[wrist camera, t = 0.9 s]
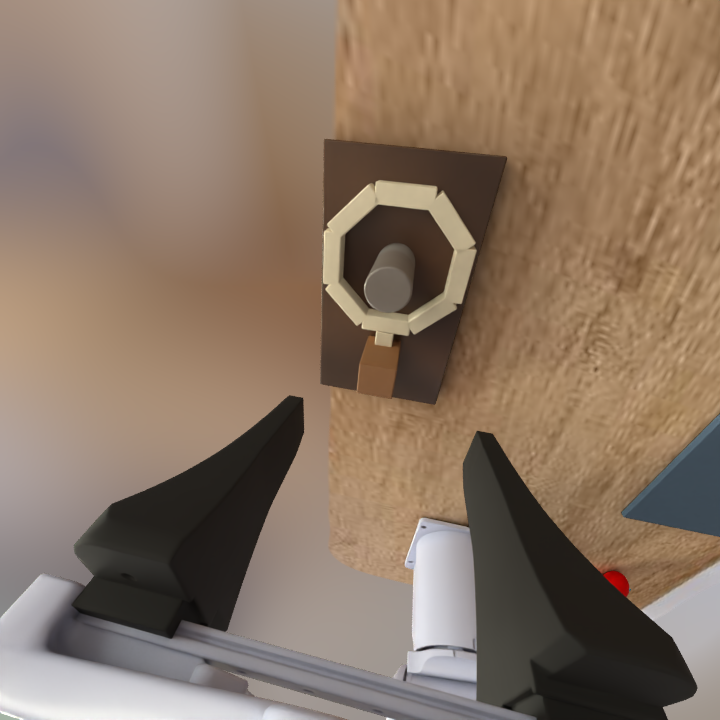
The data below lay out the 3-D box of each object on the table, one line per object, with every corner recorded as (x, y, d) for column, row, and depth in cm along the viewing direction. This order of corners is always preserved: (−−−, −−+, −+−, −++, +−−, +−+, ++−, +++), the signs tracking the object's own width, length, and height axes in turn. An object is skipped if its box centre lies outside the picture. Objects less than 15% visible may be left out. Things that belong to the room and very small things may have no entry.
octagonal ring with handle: (330, 174, 15) (309, 177, 12) (489, 191, 14) (504, 199, 11) (325, 374, 21) (310, 405, 18) (433, 393, 20) (433, 428, 18)
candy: (611, 583, 30) (621, 607, 28) (588, 578, 30) (597, 602, 28) (628, 569, 28) (640, 593, 26) (604, 564, 28) (614, 588, 27)
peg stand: (435, 397, 21) (437, 454, 17) (323, 377, 22) (299, 427, 18) (504, 156, 14) (537, 155, 10) (328, 139, 14) (289, 131, 10)
